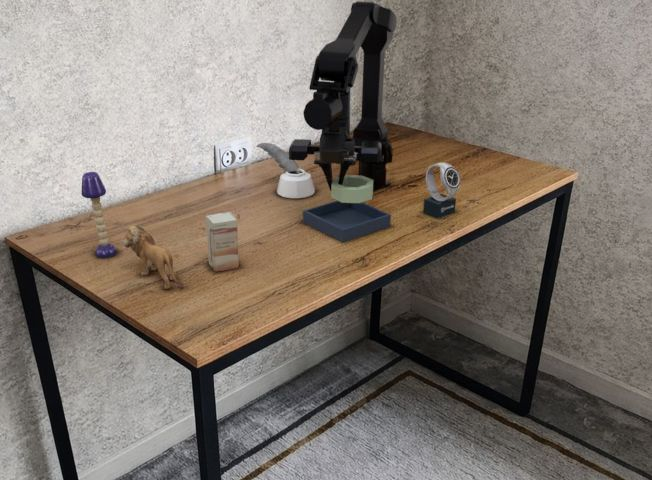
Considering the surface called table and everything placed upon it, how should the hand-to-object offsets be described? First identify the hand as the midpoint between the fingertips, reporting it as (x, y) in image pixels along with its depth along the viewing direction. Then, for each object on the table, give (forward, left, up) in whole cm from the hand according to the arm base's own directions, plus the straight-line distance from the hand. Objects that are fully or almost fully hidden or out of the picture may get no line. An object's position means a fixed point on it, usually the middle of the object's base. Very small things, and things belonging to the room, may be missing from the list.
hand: (335, 190), depth 163 cm
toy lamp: (-17, -46, -8) cm, 50 cm away
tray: (+2, +2, -8) cm, 8 cm away
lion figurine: (-1, -43, -8) cm, 44 cm away
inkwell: (-25, +4, -8) cm, 27 cm away
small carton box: (+3, -30, -8) cm, 31 cm away
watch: (+10, +22, -8) cm, 25 cm away
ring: (+3, +2, -1) cm, 4 cm away
